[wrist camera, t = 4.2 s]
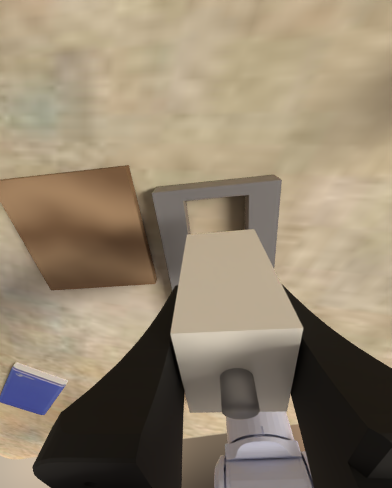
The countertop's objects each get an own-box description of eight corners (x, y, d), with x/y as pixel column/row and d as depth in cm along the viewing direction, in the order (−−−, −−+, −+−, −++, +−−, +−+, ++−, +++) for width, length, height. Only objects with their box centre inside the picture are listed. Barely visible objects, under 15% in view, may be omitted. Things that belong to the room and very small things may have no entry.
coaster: (156, 279, 23) (155, 283, 22) (55, 285, 24) (51, 290, 24) (128, 165, 18) (125, 166, 17) (-3, 180, 18) (-11, 182, 18)
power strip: (263, 334, 27) (268, 353, 25) (186, 337, 28) (184, 356, 26) (273, 174, 17) (284, 181, 15) (156, 186, 18) (149, 195, 16)
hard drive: (10, 368, 31) (-4, 401, 36) (64, 387, 33) (44, 416, 38) (18, 358, 32) (4, 391, 38) (70, 377, 34) (49, 406, 40)
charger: (252, 293, 15) (296, 443, 8) (195, 296, 15) (188, 443, 8) (254, 229, 12) (319, 360, 5) (186, 234, 13) (165, 365, 6)
